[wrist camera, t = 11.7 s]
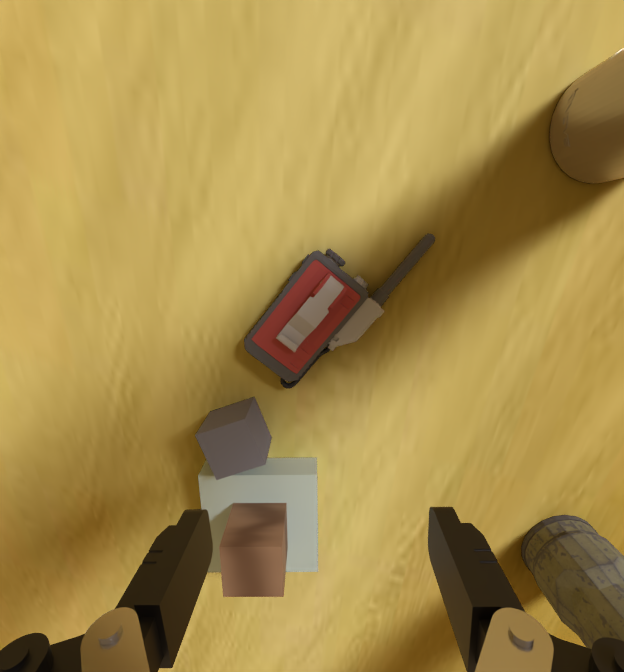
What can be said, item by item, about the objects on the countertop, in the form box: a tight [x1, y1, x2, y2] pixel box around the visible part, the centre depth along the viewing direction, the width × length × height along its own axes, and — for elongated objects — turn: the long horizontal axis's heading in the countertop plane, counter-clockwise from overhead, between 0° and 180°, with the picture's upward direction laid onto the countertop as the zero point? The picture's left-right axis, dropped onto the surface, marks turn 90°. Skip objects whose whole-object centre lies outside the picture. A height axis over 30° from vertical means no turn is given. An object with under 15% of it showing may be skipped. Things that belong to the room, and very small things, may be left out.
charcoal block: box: [195, 397, 272, 480], centre depth 35 cm, size 5×5×5 cm
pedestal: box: [198, 458, 318, 572], centre depth 38 cm, size 12×12×3 cm
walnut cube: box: [219, 503, 288, 597], centre depth 34 cm, size 6×6×6 cm
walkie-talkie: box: [244, 234, 435, 388], centre depth 32 cm, size 9×4×20 cm
